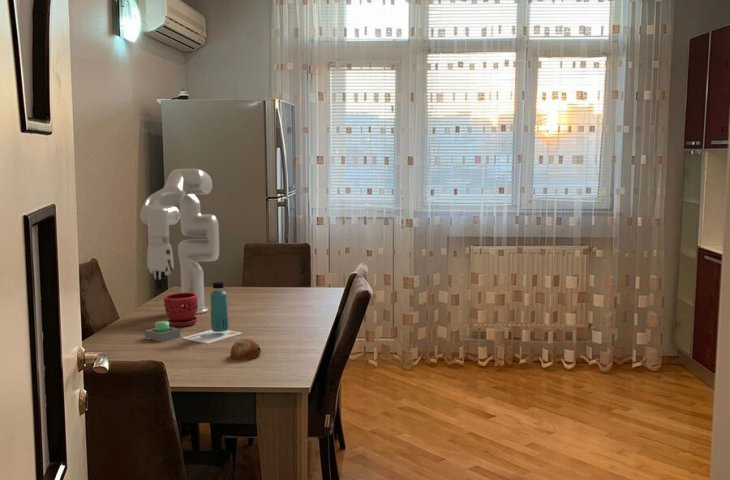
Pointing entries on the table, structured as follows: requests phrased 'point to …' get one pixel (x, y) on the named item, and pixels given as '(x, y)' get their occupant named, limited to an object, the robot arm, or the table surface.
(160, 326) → the button
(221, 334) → the drawing sheet
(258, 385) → the table surface
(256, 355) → the bread roll
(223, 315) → the beverage bottle
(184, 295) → the plant pot
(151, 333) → the button housing
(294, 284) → the table surface
